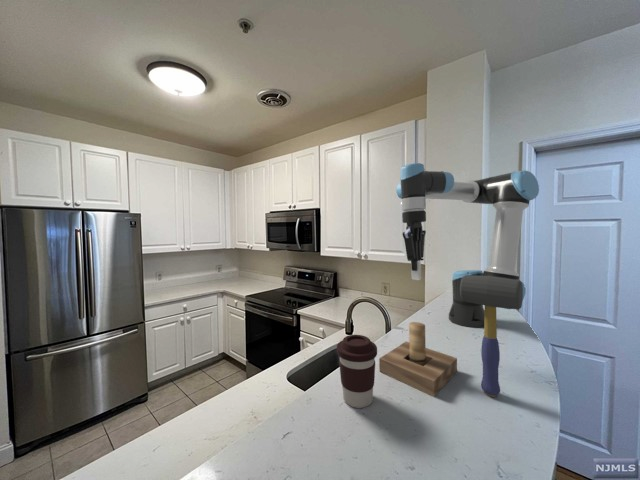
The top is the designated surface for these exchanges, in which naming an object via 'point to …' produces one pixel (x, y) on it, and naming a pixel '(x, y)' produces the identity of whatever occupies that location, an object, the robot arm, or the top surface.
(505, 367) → the top surface
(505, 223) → the robot arm
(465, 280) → the rubber mallet
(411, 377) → the walnut socket block
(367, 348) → the coffee cup
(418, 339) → the oak peg
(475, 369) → the top surface
